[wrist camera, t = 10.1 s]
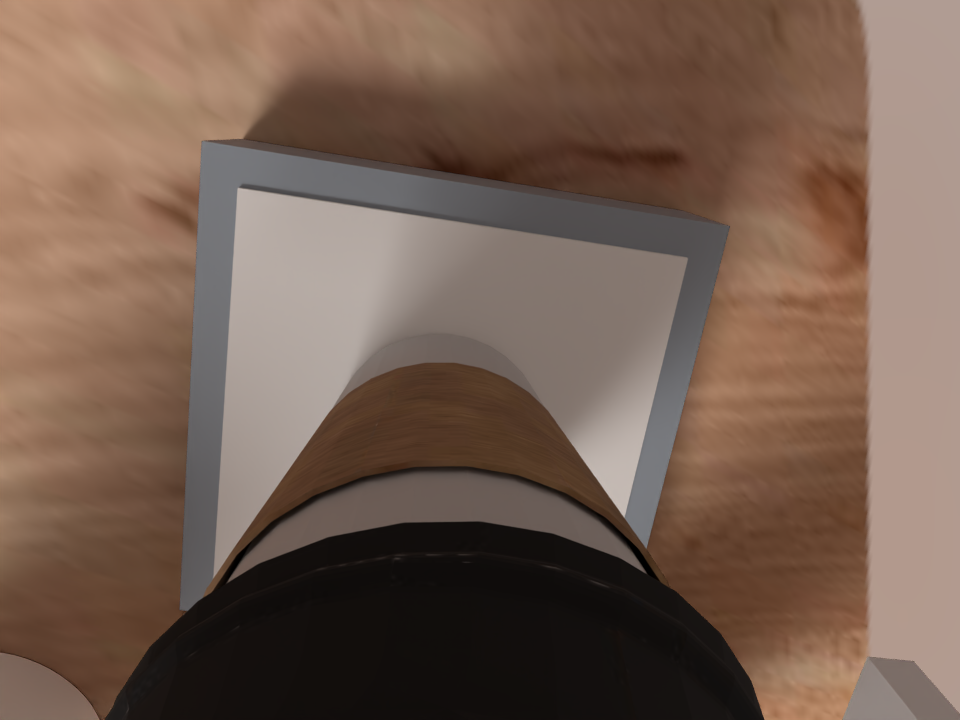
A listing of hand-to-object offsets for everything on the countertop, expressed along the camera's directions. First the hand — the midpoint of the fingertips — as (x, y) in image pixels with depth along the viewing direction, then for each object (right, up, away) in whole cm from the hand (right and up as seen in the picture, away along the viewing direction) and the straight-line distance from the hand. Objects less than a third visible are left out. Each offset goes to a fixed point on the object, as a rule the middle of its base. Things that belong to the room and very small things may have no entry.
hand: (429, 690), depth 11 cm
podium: (-1, +4, +14) cm, 15 cm away
